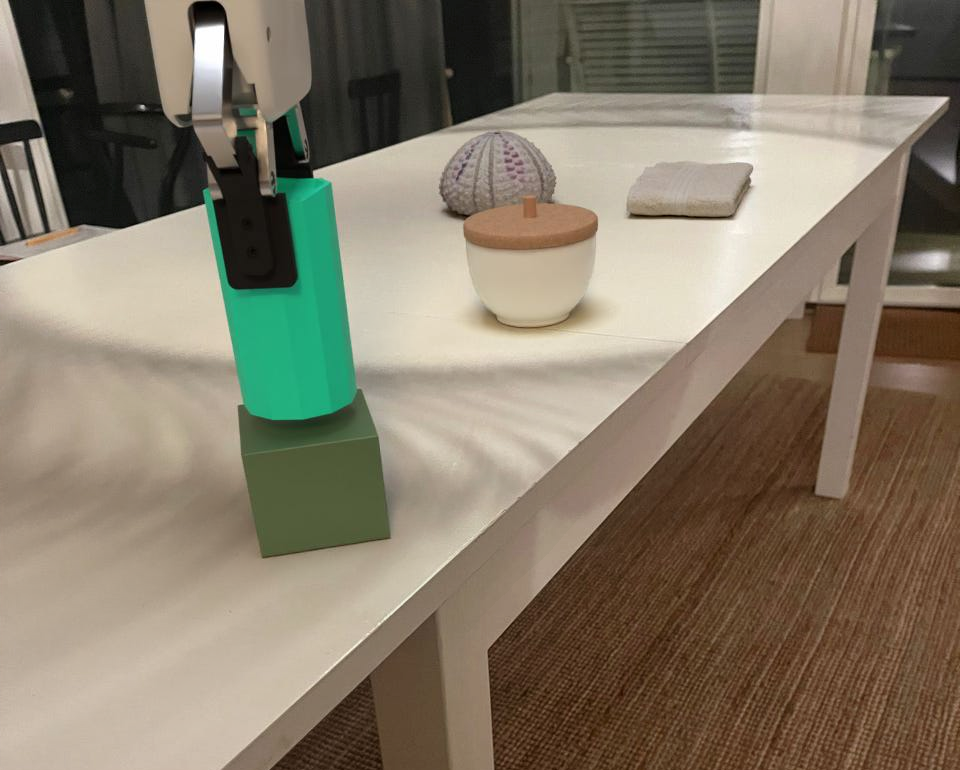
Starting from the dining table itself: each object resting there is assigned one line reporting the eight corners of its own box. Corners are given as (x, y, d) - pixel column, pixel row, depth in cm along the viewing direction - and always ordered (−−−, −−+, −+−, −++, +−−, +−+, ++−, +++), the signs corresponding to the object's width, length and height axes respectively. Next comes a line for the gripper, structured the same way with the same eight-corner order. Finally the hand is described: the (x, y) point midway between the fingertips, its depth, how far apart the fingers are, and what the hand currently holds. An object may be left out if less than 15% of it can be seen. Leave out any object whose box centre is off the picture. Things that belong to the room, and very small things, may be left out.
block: (261, 558, 55) (240, 455, 52) (256, 500, 61) (237, 404, 58) (390, 538, 56) (378, 435, 53) (373, 483, 62) (361, 387, 59)
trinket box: (443, 326, 86) (434, 206, 80) (512, 290, 93) (508, 178, 88) (555, 344, 81) (554, 217, 75) (619, 305, 88) (622, 187, 82)
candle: (222, 399, 55) (173, 154, 48) (318, 369, 58) (283, 134, 51) (281, 430, 51) (236, 169, 44) (379, 396, 54) (352, 146, 48)
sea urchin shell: (560, 218, 114) (560, 138, 110) (438, 225, 114) (432, 146, 110) (553, 192, 125) (552, 119, 120) (441, 199, 125) (436, 126, 121)
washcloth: (753, 184, 123) (755, 155, 121) (736, 221, 109) (739, 189, 107) (653, 183, 126) (654, 155, 124) (624, 219, 112) (625, 188, 110)
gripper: (172, -181, 48) (243, 227, 58) (22, -222, 34) (151, 326, 44) (332, -192, 47) (376, 221, 58) (248, -239, 33) (325, 320, 44)
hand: (278, 263), depth 51 cm, fingers closed on candle, 5 cm apart
